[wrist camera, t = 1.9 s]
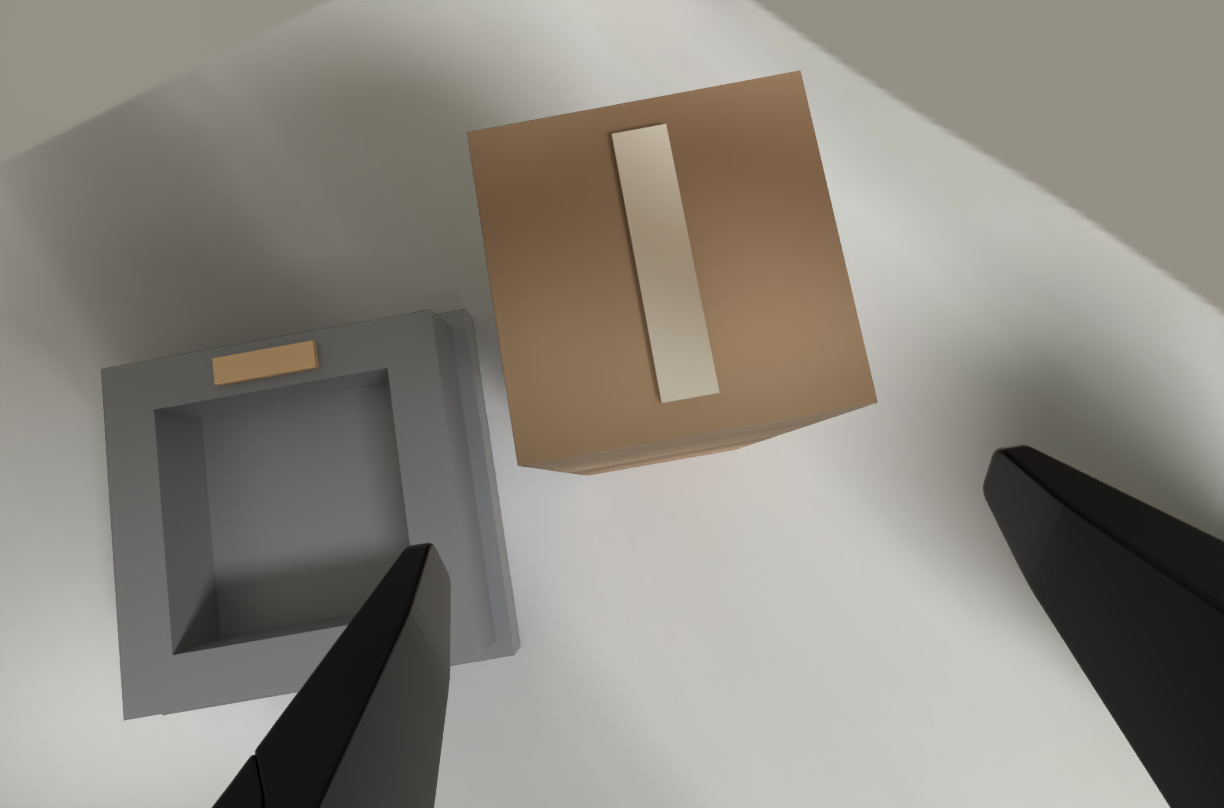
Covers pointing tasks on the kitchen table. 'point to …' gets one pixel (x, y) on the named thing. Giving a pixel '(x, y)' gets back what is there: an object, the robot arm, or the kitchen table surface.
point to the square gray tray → (295, 503)
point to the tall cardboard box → (667, 277)
